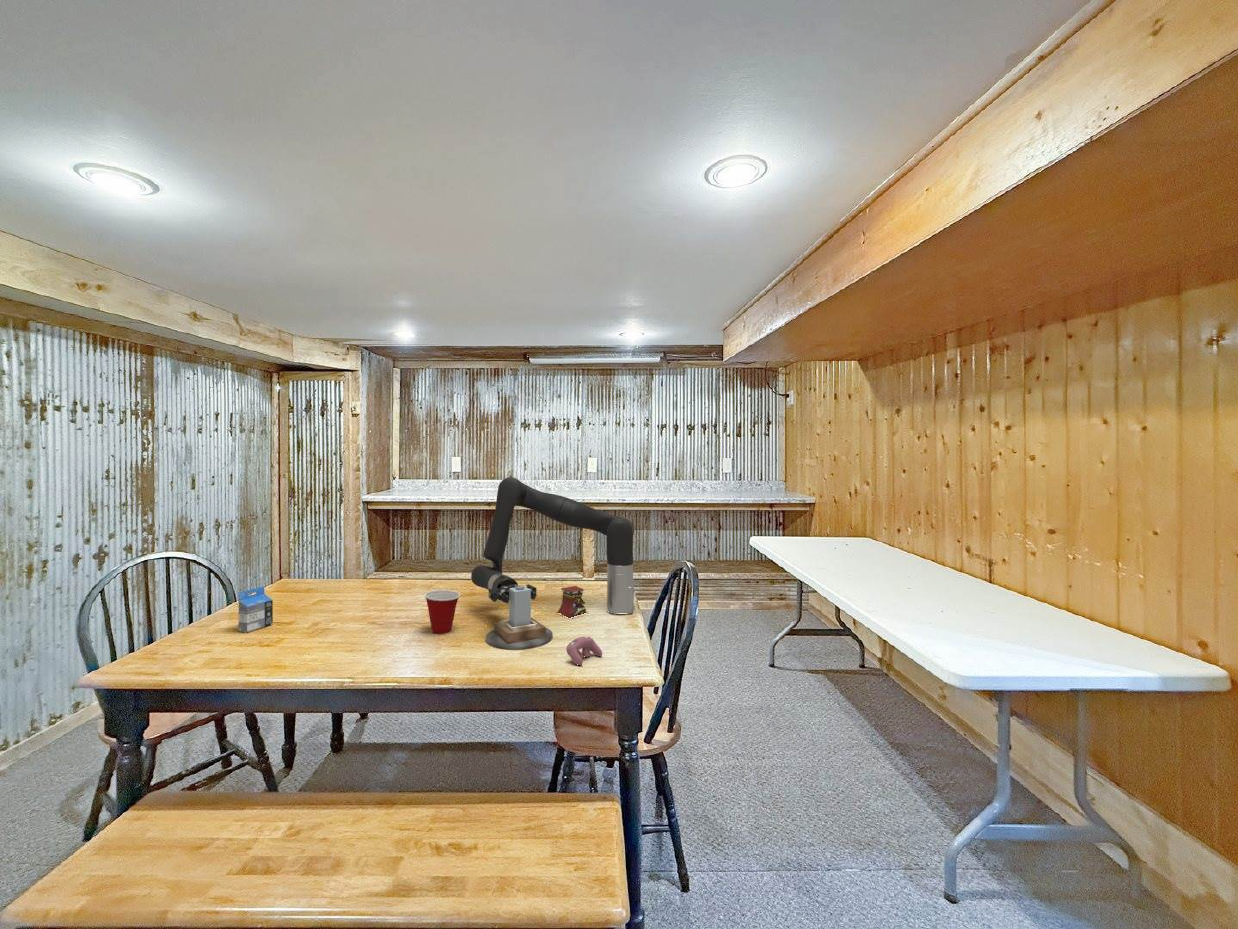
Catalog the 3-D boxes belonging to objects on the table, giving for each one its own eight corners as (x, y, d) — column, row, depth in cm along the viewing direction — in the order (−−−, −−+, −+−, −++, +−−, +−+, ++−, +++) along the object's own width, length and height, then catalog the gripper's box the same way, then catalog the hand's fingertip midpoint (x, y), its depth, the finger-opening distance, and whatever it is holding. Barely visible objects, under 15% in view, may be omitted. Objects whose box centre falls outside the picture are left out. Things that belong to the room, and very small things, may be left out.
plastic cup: (449, 638, 169) (449, 598, 168) (417, 635, 171) (417, 596, 170) (466, 627, 179) (466, 590, 179) (435, 624, 181) (435, 588, 181)
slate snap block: (524, 621, 172) (524, 583, 172) (530, 626, 168) (530, 587, 168) (509, 624, 170) (509, 585, 170) (514, 628, 166) (514, 589, 165)
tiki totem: (568, 619, 188) (568, 593, 188) (556, 613, 195) (556, 587, 195) (589, 615, 193) (590, 589, 193) (576, 609, 200) (576, 584, 200)
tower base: (537, 624, 183) (537, 609, 183) (563, 642, 166) (563, 626, 166) (477, 634, 172) (477, 618, 172) (498, 654, 155) (498, 637, 155)
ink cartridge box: (247, 633, 171) (246, 593, 171) (237, 632, 172) (237, 592, 172) (273, 625, 179) (273, 587, 179) (264, 623, 181) (264, 586, 180)
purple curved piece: (593, 659, 157) (585, 635, 158) (604, 655, 154) (596, 630, 156) (569, 670, 149) (561, 644, 151) (581, 666, 146) (572, 640, 148)
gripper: (481, 577, 178) (498, 588, 164) (523, 572, 185) (542, 583, 171) (481, 601, 178) (498, 614, 164) (523, 595, 185) (542, 607, 172)
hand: (521, 598), depth 168 cm, fingers open, 8 cm apart
